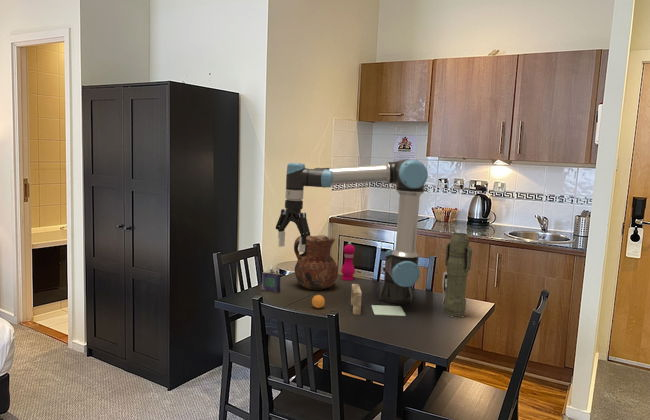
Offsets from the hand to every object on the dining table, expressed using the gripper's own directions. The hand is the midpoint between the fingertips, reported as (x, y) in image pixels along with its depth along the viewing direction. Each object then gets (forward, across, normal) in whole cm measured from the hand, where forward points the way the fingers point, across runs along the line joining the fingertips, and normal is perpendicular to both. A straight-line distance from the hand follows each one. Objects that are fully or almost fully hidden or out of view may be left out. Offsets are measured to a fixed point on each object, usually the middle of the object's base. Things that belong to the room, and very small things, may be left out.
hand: (291, 249), depth 223 cm
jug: (+24, -16, +30) cm, 42 cm away
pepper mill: (+24, -18, +55) cm, 62 cm away
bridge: (+24, +22, +19) cm, 38 cm away
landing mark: (+24, +31, +30) cm, 49 cm away
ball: (+21, +11, +7) cm, 25 cm away
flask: (+25, -21, +7) cm, 33 cm away
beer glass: (+24, +42, +58) cm, 76 cm away
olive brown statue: (+24, +51, +49) cm, 75 cm away
